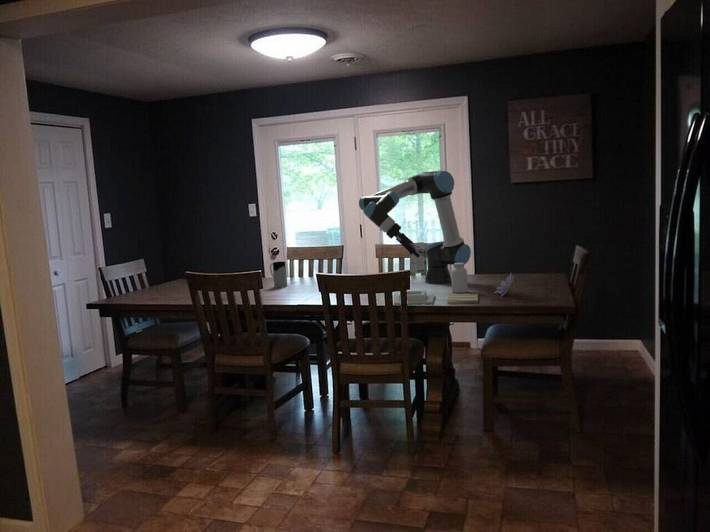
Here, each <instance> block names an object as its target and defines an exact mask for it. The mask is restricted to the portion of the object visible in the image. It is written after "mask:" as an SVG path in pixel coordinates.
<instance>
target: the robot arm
mask: <svg viewBox="0 0 710 532" xmlns="http://www.w3.org/2000/svg"><path fill="white" fill-rule="evenodd" d="M454 188H455V179H454V176H453V174H452V173H450V172H449V171H447V170H433V171H424V172H423V171H422V172H420V173H418V174H415V175H413V176H410V177H408V178H405V180H404V182H401V183H398V184H395V185H393V186H390V187H388V188H386V189H383V190H381V191H378V192H376V193H373V194H370V195H365V196H361V197H360V198H359V200H358V206H359V208H360V210H361V211H363V214H364V215H365V216H366V217H367V218H368V219H369V220H370V221H371V222H373V224H374V225H375V226H377V227H378V228H379V230H380V231H381V232H383V233H385V235H386V236H388V238H389V239H393V238H394V237H395V240H396V241H397V242H398V243H399V244H400V245H401V246H402V247H403V248H404V249H405V250H406V251H408V253H409V256H410V255H412V254H413V255H414V256H415V257H416V258H417V259H418V260H419V261H420V262H422V263H423V262H424V261H425V260H426V266H427V269H426V273H425V279H424V283H426V282H429V283H428V284H431V283H440V284H446V283H445V282H448V283H451V282H452V275H451V272H450V270H449V265H450V266H451V265H452V266H454V263H464V266H465V265H466V264H468V262H469V260H470V258H471V256H472V255H471V254H472V251H471V250H472V249H471V247H470V246H469V245H468V244H467V243H465V241H464V238H463V237H461V235H460V232H459V228H458V223H457V220H456V216H455V211H454V207H453V201H452V199H451V196H452V195H453V191H454ZM421 194H429V195H430V199H432V201H434V204H435V207H436V211H437V216H438V218H439V223H440V227H441V230H442V231H441V232H442V236H443V239H444V240H442V241H436V242H435V241H434V242H430V243H427V245H426V258H425V257H424V256H423V255H422V254H420V253H419V252H418V251H417V250H416V251H415V249H414V248H413V247H412V245H411V244H410V243H414V242H413V241H412V239H410V238H409V237H408V236H407V235H406V234H405V233H403V232H401V229H402V227H401V225H399V224H398V222H396V220H394V218H392V217H391V216H390V215H389V213H390V212H391V211H392V210H393V209H394V208H396V207H397V205H398V204H399V202H400V200H401V199H403V198H405V197H407V196H408V197H409V196H416V195H421ZM450 281H451V282H450Z"/></svg>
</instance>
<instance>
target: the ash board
mask: <svg viewBox="0 0 710 532" xmlns="http://www.w3.org/2000/svg"><path fill="white" fill-rule="evenodd" d="M448 304H449V305H455V304H456V305H459V304H463V305H464V304H465V305H466V304H479V294H478V293H449V294H448V297H447V305H448Z"/></svg>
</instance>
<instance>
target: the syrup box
mask: <svg viewBox="0 0 710 532" xmlns="http://www.w3.org/2000/svg"><path fill="white" fill-rule="evenodd" d="M410 244H411V245H412V247H413V248H414V249H415V251H416V250H417V251H418V252H419V253H420V254H422V255H423V256H424V257H425V258H426V255H427V250H426V242H413V243H410ZM409 259H410V261H409V262H410V265H409V266H410V272H411V273H412V274H416V275H417V274H418V275H419V274H424V273H425V274H426V273H427V258H426V260H425V261H424V262H423V263H422V262H420V261H419V260H418V259H417V258H416V257H415V256H414V255H413V254H412V255H410V254H409Z"/></svg>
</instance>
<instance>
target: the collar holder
mask: <svg viewBox="0 0 710 532" xmlns="http://www.w3.org/2000/svg"><path fill="white" fill-rule="evenodd" d="M407 291H408V292H407V300H408V305H407V306H414V305H413V304H434V302H433V301H435V299H434V298H436V294H435V293H434V294H433V293H432V294H431V293H429V294H427V290H407ZM393 299H394V306H395V305H396V306H401V305H400V294H395V295H394V297H393V298H392V300H393Z"/></svg>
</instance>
